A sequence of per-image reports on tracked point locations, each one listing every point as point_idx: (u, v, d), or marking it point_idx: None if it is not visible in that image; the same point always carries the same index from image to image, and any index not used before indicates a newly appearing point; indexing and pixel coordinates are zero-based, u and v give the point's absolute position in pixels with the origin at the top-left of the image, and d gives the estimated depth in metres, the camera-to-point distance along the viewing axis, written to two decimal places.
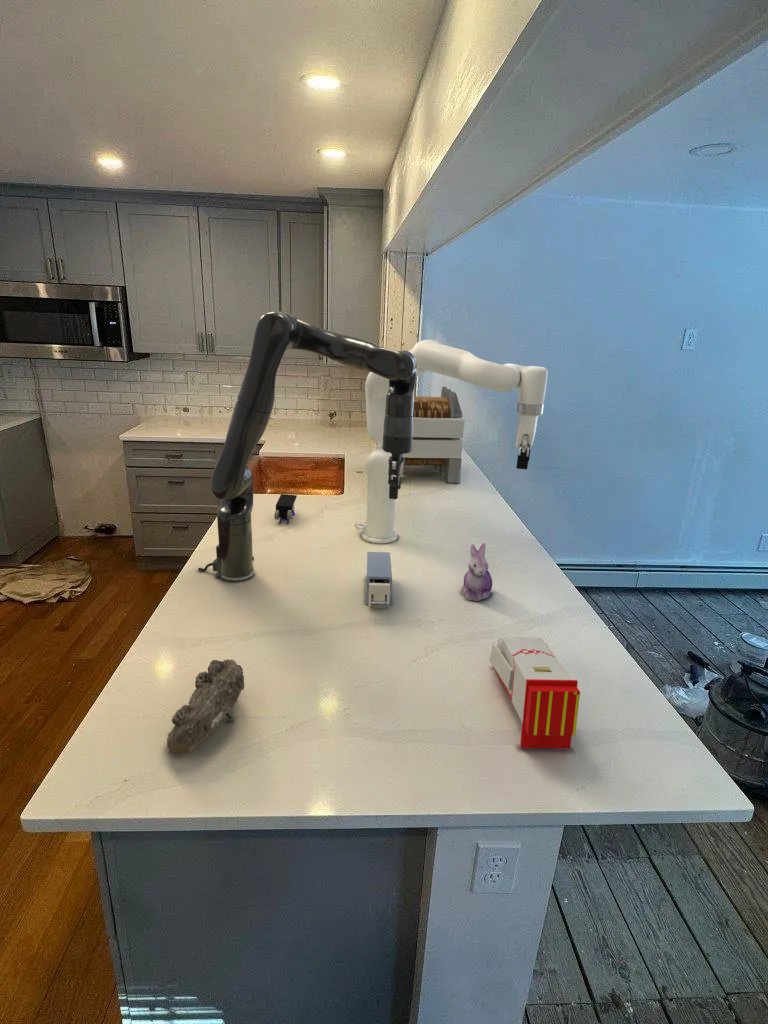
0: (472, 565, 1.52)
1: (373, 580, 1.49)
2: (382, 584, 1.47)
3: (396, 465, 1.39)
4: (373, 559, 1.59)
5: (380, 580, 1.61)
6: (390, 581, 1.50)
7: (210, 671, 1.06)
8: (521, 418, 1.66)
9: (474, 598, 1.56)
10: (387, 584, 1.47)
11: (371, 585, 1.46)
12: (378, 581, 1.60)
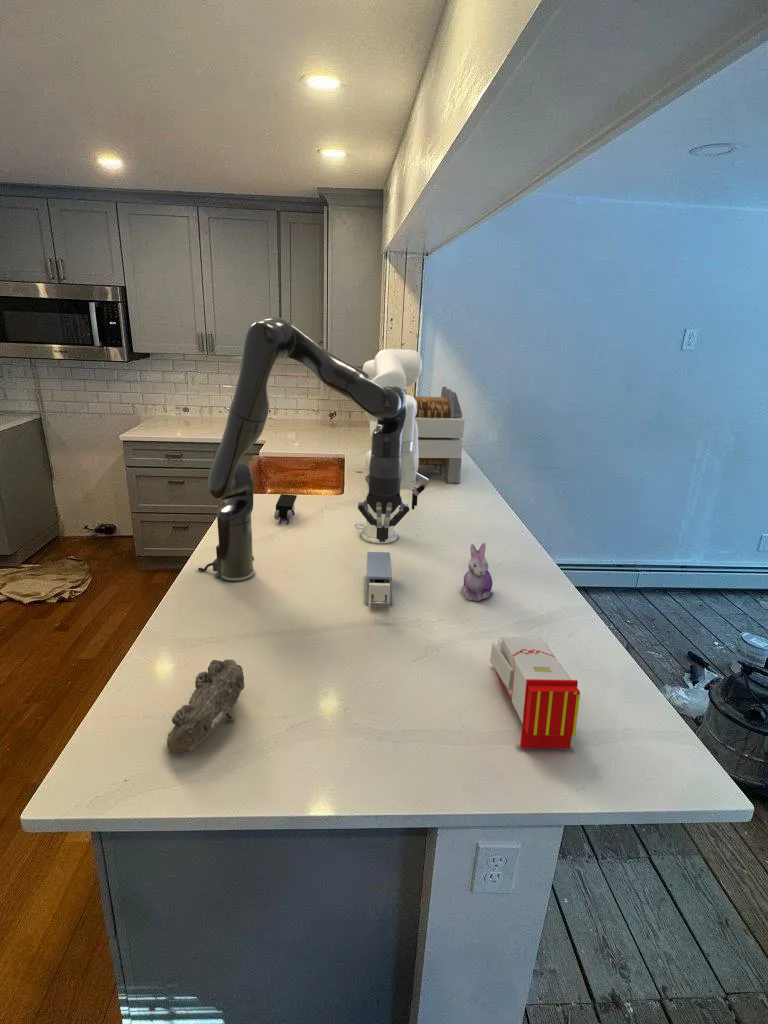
0: (472, 565, 1.52)
1: (373, 580, 1.49)
2: (382, 584, 1.47)
3: None
4: (373, 559, 1.59)
5: (380, 580, 1.61)
6: (390, 581, 1.50)
7: (210, 671, 1.06)
8: (414, 457, 1.49)
9: (474, 598, 1.56)
10: (387, 584, 1.47)
11: (371, 585, 1.46)
12: (378, 581, 1.60)
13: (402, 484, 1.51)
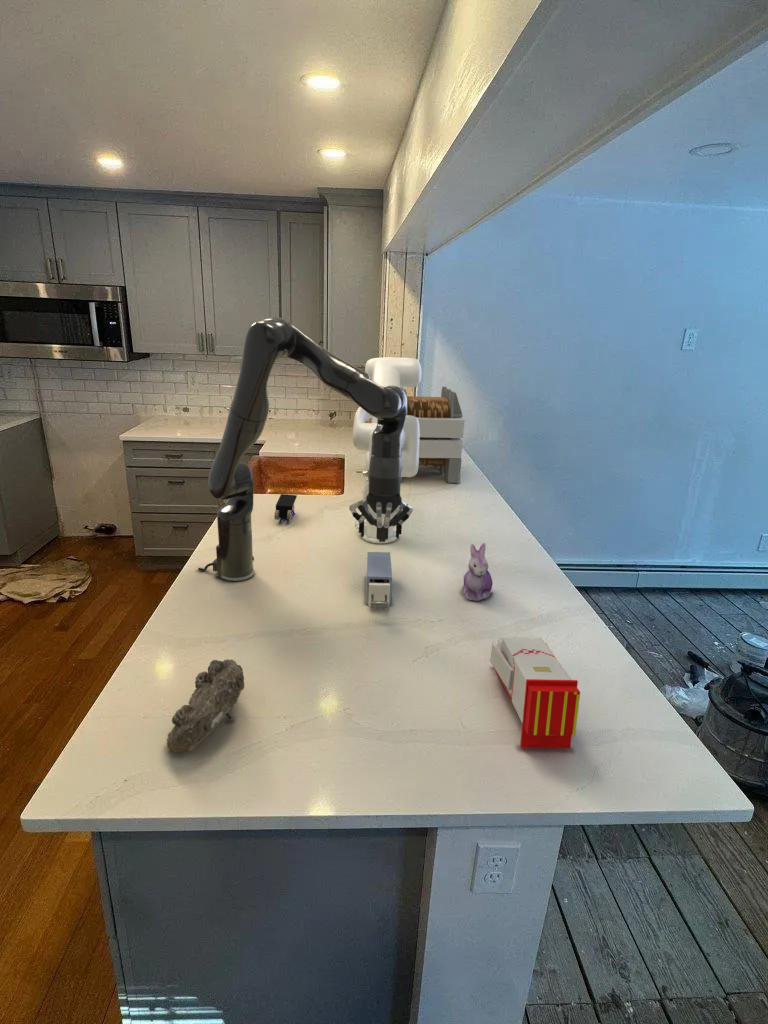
0: (472, 565, 1.52)
1: (373, 580, 1.49)
2: (382, 584, 1.47)
3: None
4: (373, 559, 1.59)
5: (380, 580, 1.61)
6: (390, 581, 1.50)
7: (210, 671, 1.06)
8: None
9: (474, 598, 1.56)
10: (387, 584, 1.47)
11: (371, 585, 1.46)
12: (378, 581, 1.60)
13: None
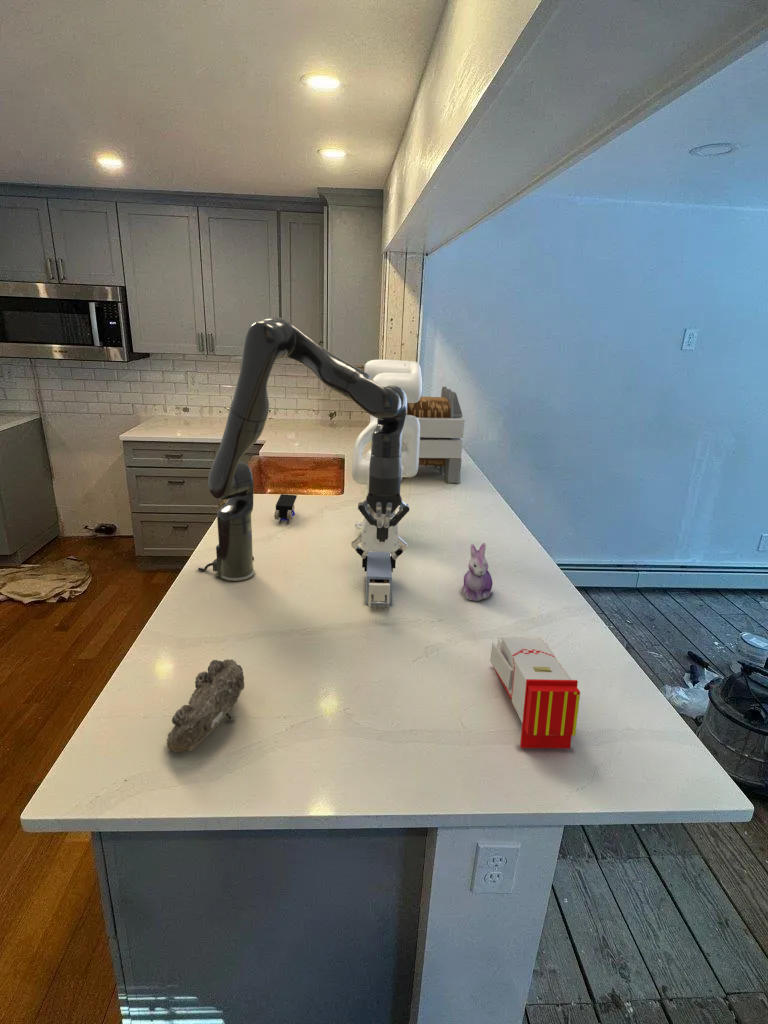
0: (472, 565, 1.52)
1: (373, 580, 1.49)
2: (382, 584, 1.47)
3: None
4: (373, 559, 1.59)
5: (380, 580, 1.61)
6: (390, 581, 1.50)
7: (210, 671, 1.06)
8: None
9: (474, 598, 1.56)
10: (387, 584, 1.47)
11: (371, 585, 1.46)
12: (378, 581, 1.60)
13: (385, 547, 1.55)
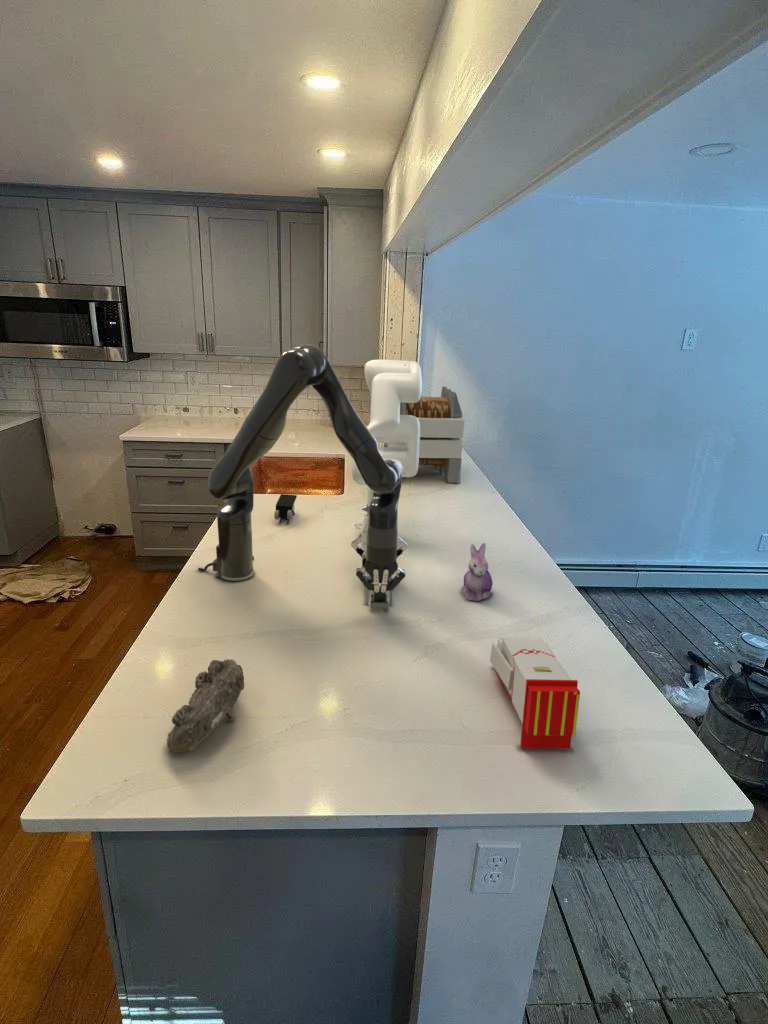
0: (472, 565, 1.52)
1: (373, 580, 1.49)
2: None
3: None
4: None
5: (380, 580, 1.61)
6: None
7: (210, 671, 1.06)
8: None
9: (474, 598, 1.56)
10: None
11: None
12: None
13: None
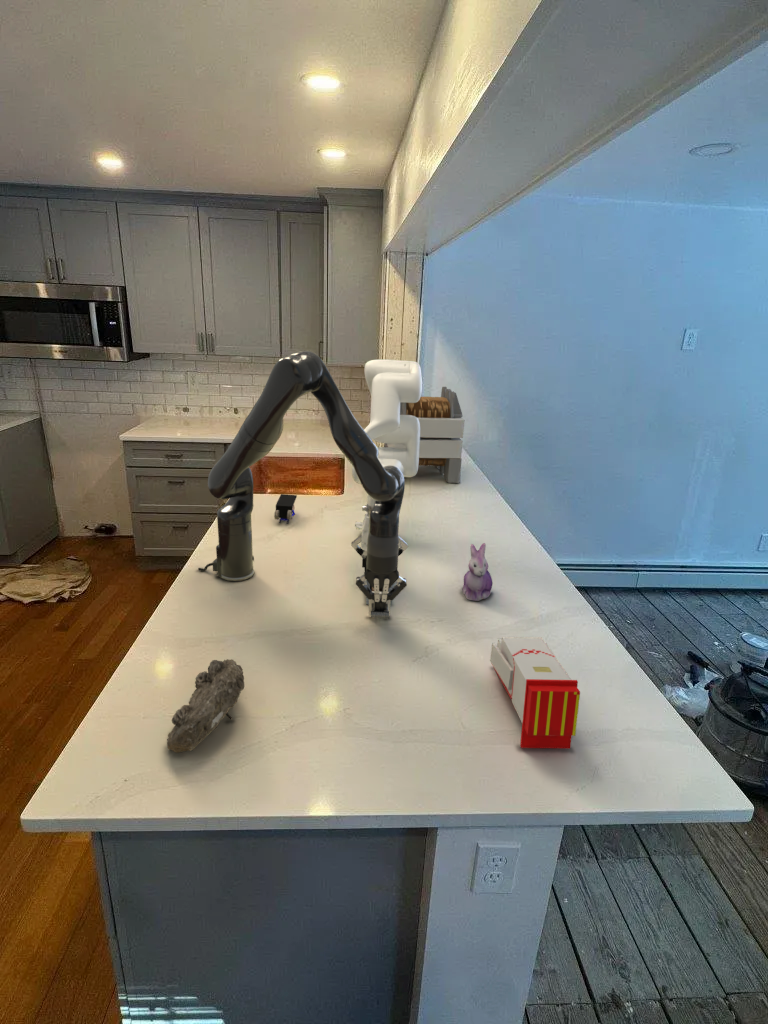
0: (472, 565, 1.52)
1: (373, 588, 1.45)
2: None
3: None
4: None
5: None
6: None
7: (210, 671, 1.06)
8: None
9: (474, 598, 1.56)
10: None
11: None
12: None
13: None
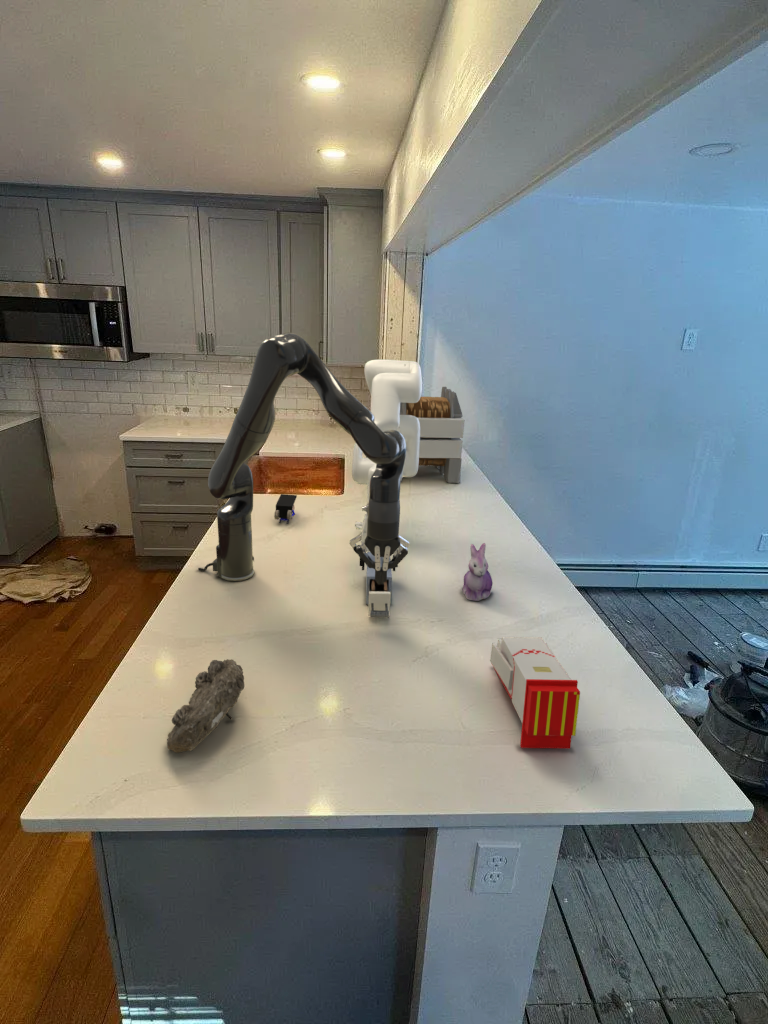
0: (472, 565, 1.52)
1: (373, 588, 1.45)
2: (382, 592, 1.43)
3: None
4: (372, 559, 1.59)
5: (380, 588, 1.56)
6: (390, 581, 1.49)
7: (210, 671, 1.06)
8: None
9: (474, 598, 1.56)
10: (387, 592, 1.43)
11: (371, 594, 1.42)
12: (378, 589, 1.56)
13: None
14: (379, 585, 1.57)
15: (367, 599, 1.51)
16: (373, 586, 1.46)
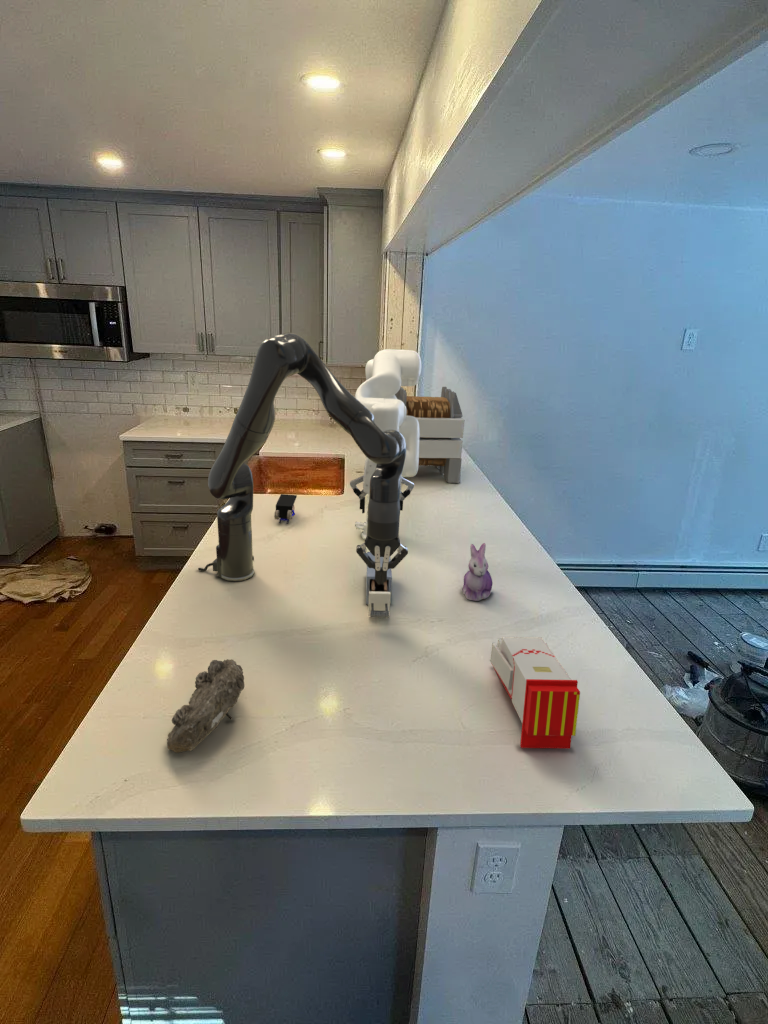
0: (472, 565, 1.52)
1: (373, 588, 1.45)
2: (382, 593, 1.43)
3: None
4: (372, 559, 1.59)
5: (380, 588, 1.56)
6: (390, 581, 1.49)
7: (210, 671, 1.06)
8: None
9: (474, 598, 1.56)
10: (387, 593, 1.43)
11: (371, 594, 1.42)
12: (378, 589, 1.56)
13: None
14: (379, 585, 1.57)
15: (367, 599, 1.51)
16: (373, 586, 1.46)
